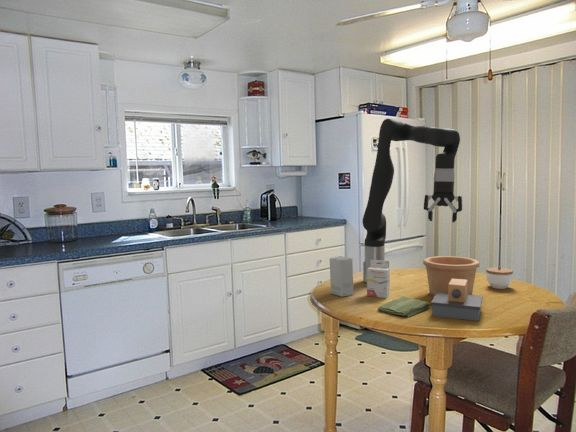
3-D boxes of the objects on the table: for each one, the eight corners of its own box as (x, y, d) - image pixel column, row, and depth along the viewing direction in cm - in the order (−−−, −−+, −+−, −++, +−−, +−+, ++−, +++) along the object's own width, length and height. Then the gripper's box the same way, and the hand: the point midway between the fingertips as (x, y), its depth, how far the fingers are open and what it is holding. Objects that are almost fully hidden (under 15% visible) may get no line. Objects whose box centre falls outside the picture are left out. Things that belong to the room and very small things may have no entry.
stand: (430, 316, 161) (431, 302, 161) (437, 304, 175) (437, 291, 175) (480, 321, 154) (480, 307, 154) (482, 308, 169) (482, 295, 168)
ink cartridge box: (366, 296, 189) (366, 261, 188) (369, 293, 193) (369, 259, 192) (387, 298, 185) (387, 262, 184) (389, 295, 190) (390, 260, 189)
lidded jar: (486, 289, 198) (486, 267, 197) (485, 283, 207) (485, 263, 207) (513, 291, 194) (514, 269, 193) (511, 285, 203) (512, 264, 203)
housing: (451, 294, 171) (451, 278, 170) (467, 295, 168) (467, 279, 168) (447, 301, 161) (447, 285, 160) (464, 303, 158) (464, 286, 158)
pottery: (484, 302, 177) (485, 266, 175) (425, 300, 181) (425, 265, 180) (473, 289, 198) (473, 256, 197) (420, 287, 202) (420, 255, 201)
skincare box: (353, 295, 191) (353, 258, 190) (341, 297, 188) (341, 260, 187) (341, 291, 198) (341, 255, 197) (329, 293, 195) (329, 257, 194)
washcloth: (375, 312, 168) (375, 303, 168) (402, 302, 180) (402, 294, 180) (406, 319, 159) (406, 310, 159) (432, 309, 171) (433, 300, 170)
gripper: (464, 180, 178) (462, 221, 180) (427, 179, 185) (425, 219, 187) (462, 181, 172) (459, 223, 173) (423, 180, 178) (421, 221, 180)
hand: (442, 221), depth 180 cm, fingers open, 8 cm apart
